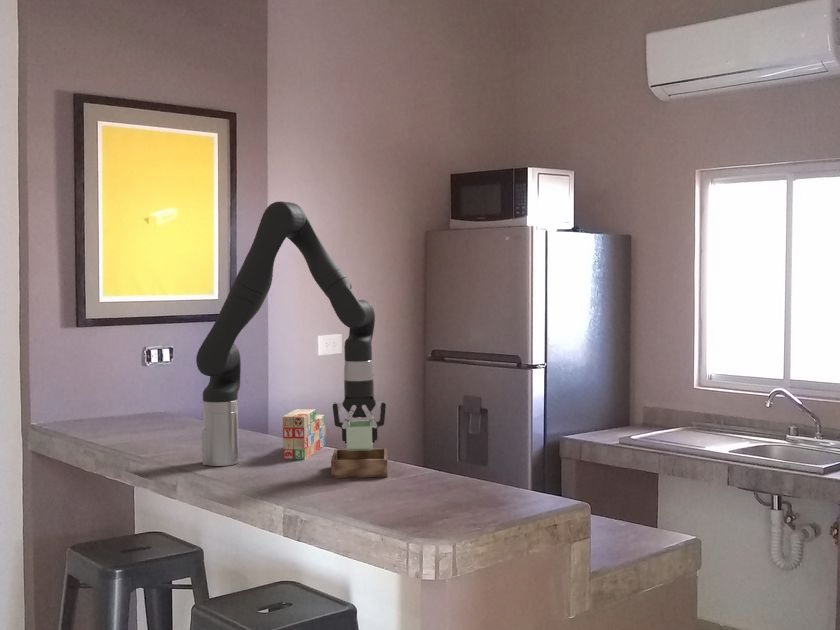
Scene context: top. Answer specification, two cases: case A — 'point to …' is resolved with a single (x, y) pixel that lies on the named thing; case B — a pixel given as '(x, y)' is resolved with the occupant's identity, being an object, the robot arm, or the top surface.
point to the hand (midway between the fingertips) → (360, 442)
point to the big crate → (359, 463)
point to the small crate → (359, 436)
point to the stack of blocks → (302, 433)
